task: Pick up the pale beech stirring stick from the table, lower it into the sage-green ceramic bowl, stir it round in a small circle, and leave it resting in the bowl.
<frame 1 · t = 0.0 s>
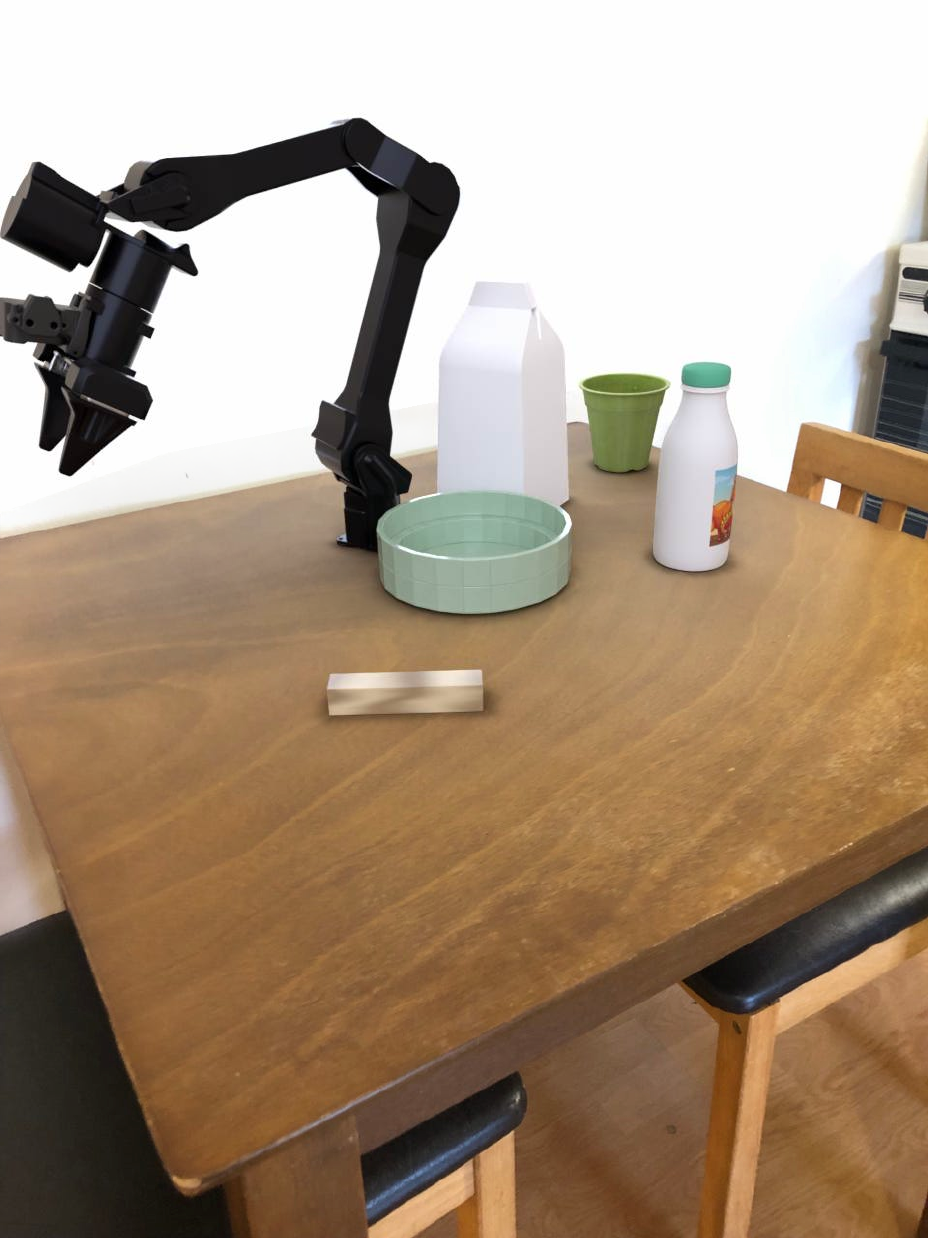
hand: (53, 461, 84), 15 cm above the table, tool tilted 35°, fingers open, 9 cm apart
stick: (407, 705, 74), on the table
bowl: (475, 576, 95), on the table
plant pot: (619, 466, 127), on the table
milk bottle: (689, 560, 98), on the table
milk: (503, 507, 114), on the table
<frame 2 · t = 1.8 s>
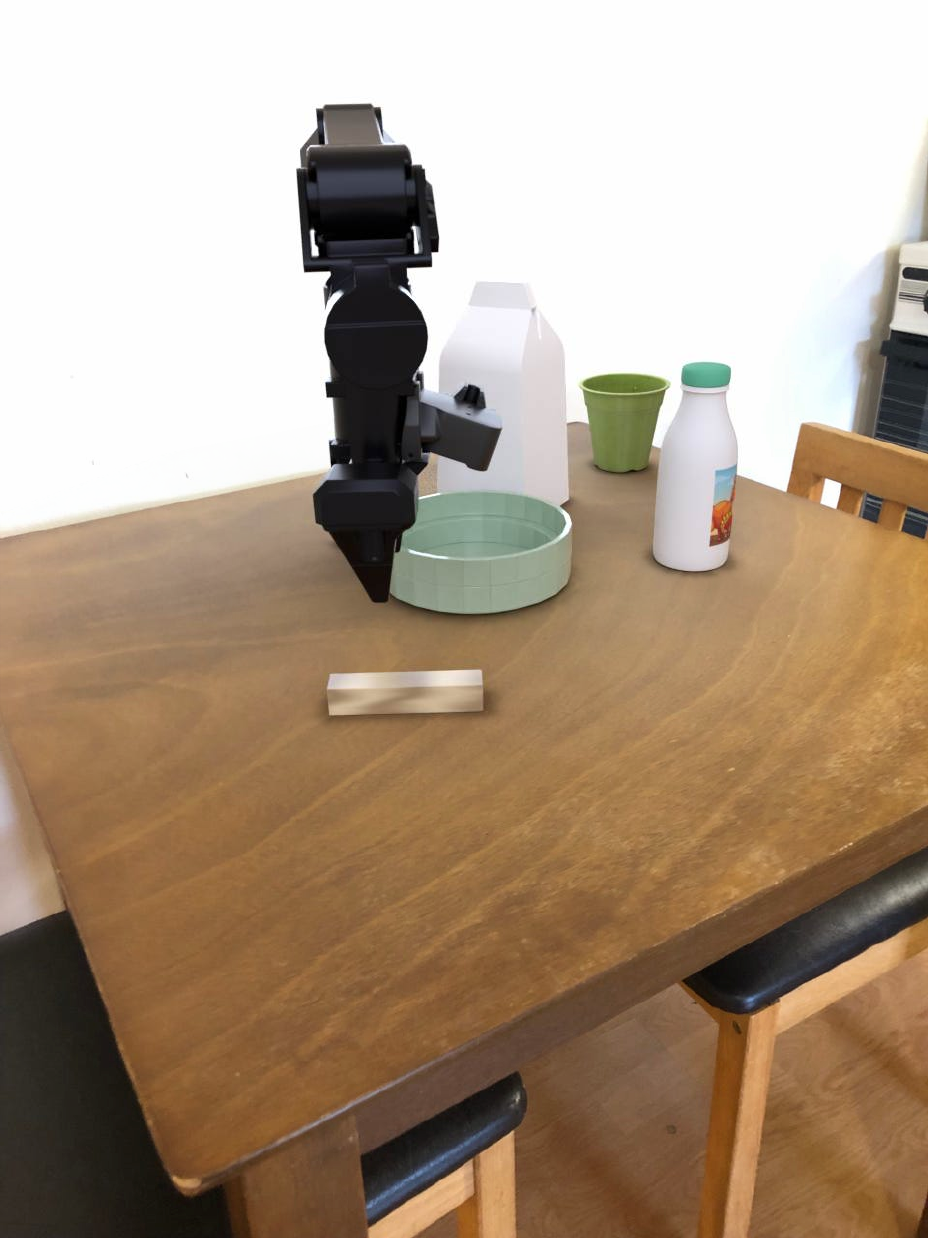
hand: (387, 575, 68), 11 cm above the table, tool pointing down, fingers open, 9 cm apart
nothing on the table moved.
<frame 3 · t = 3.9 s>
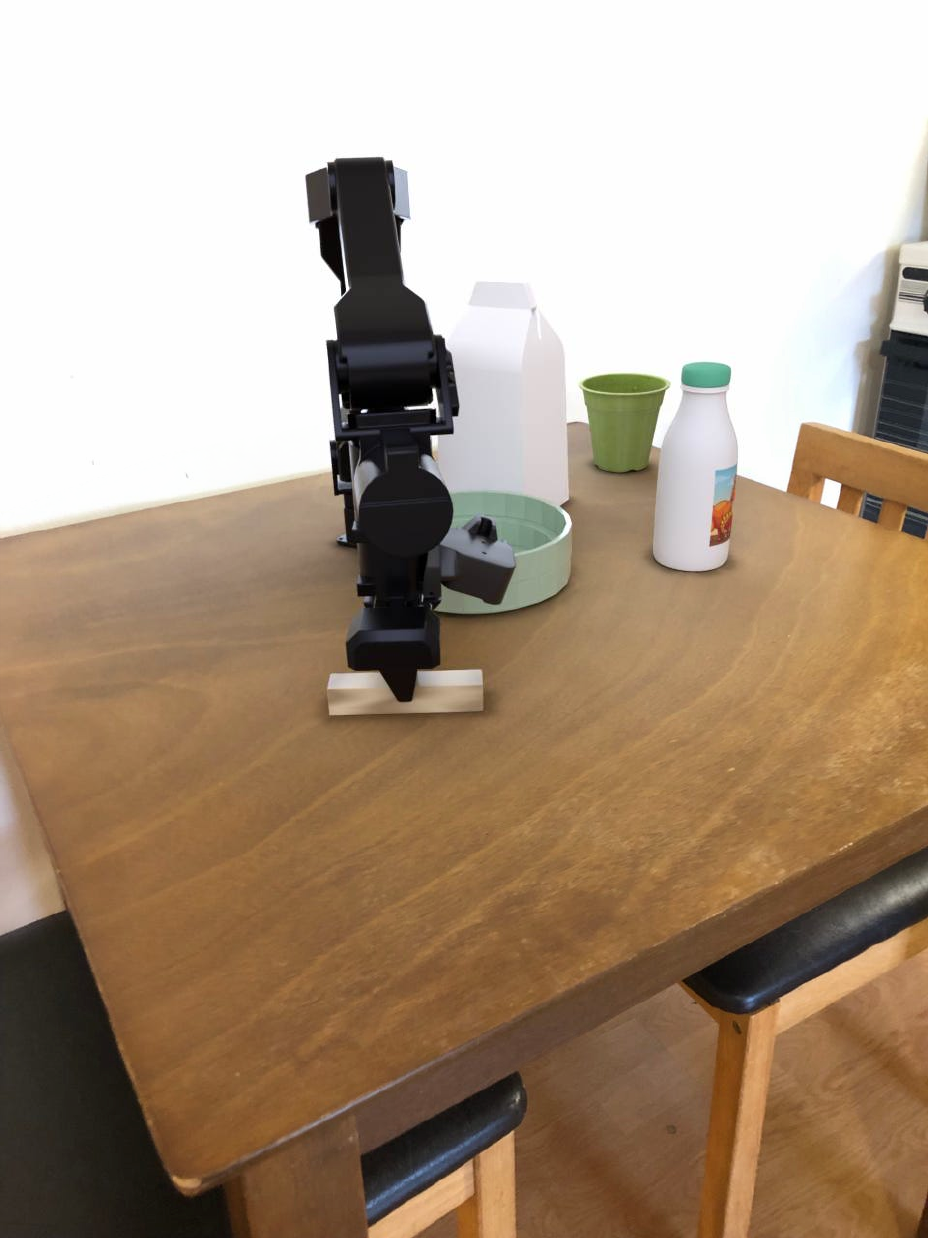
hand: (406, 692, 73), 1 cm above the table, tool pointing down, fingers closed on stick, 2 cm apart
stick: (407, 705, 74), on the table, touching gripper
everything else where it was.
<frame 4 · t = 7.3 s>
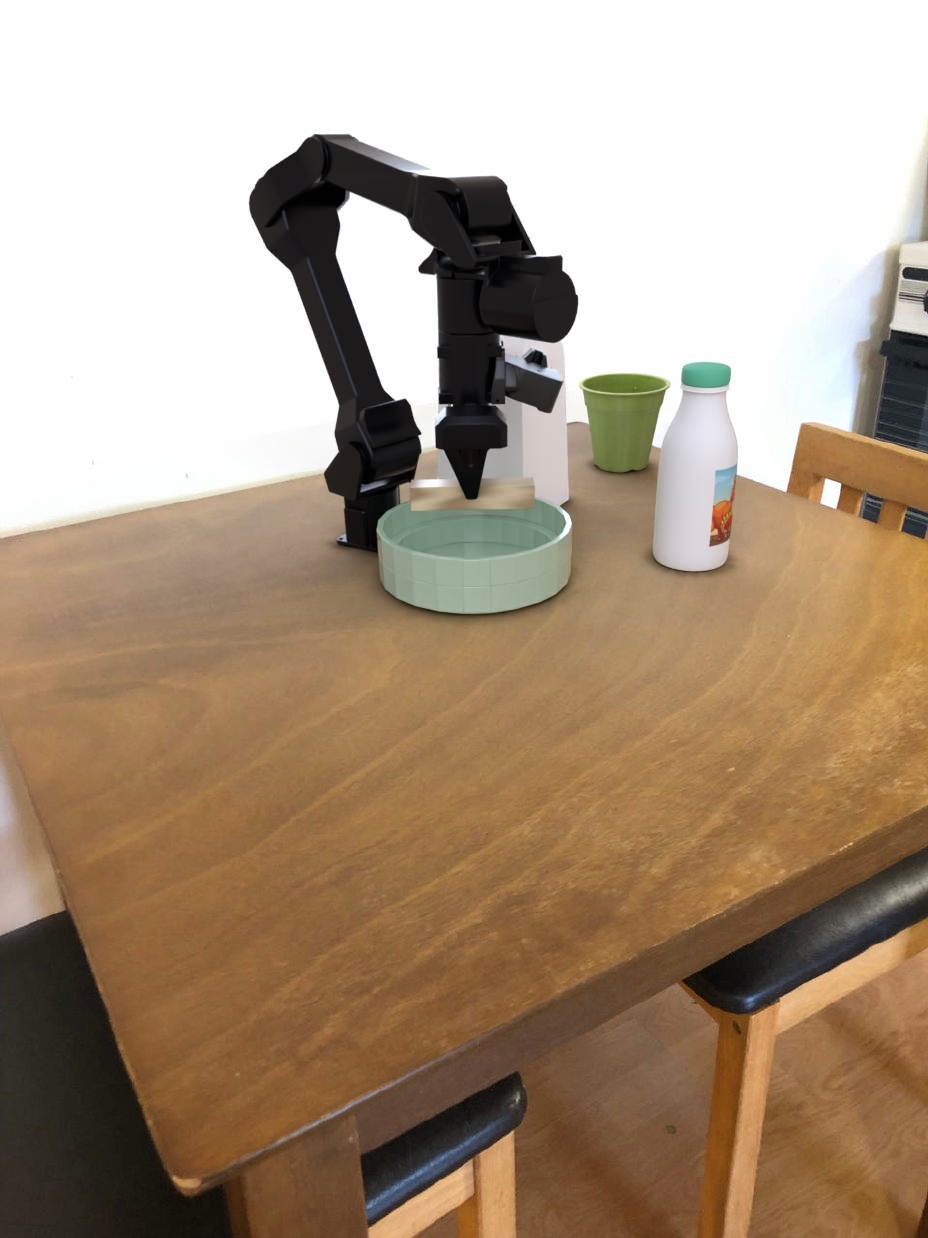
hand: (471, 494, 91), 9 cm above the table, tool pointing down, fingers closed on stick, 2 cm apart
stick: (472, 505, 92), point 8 cm above the table, touching gripper
everything else where it was.
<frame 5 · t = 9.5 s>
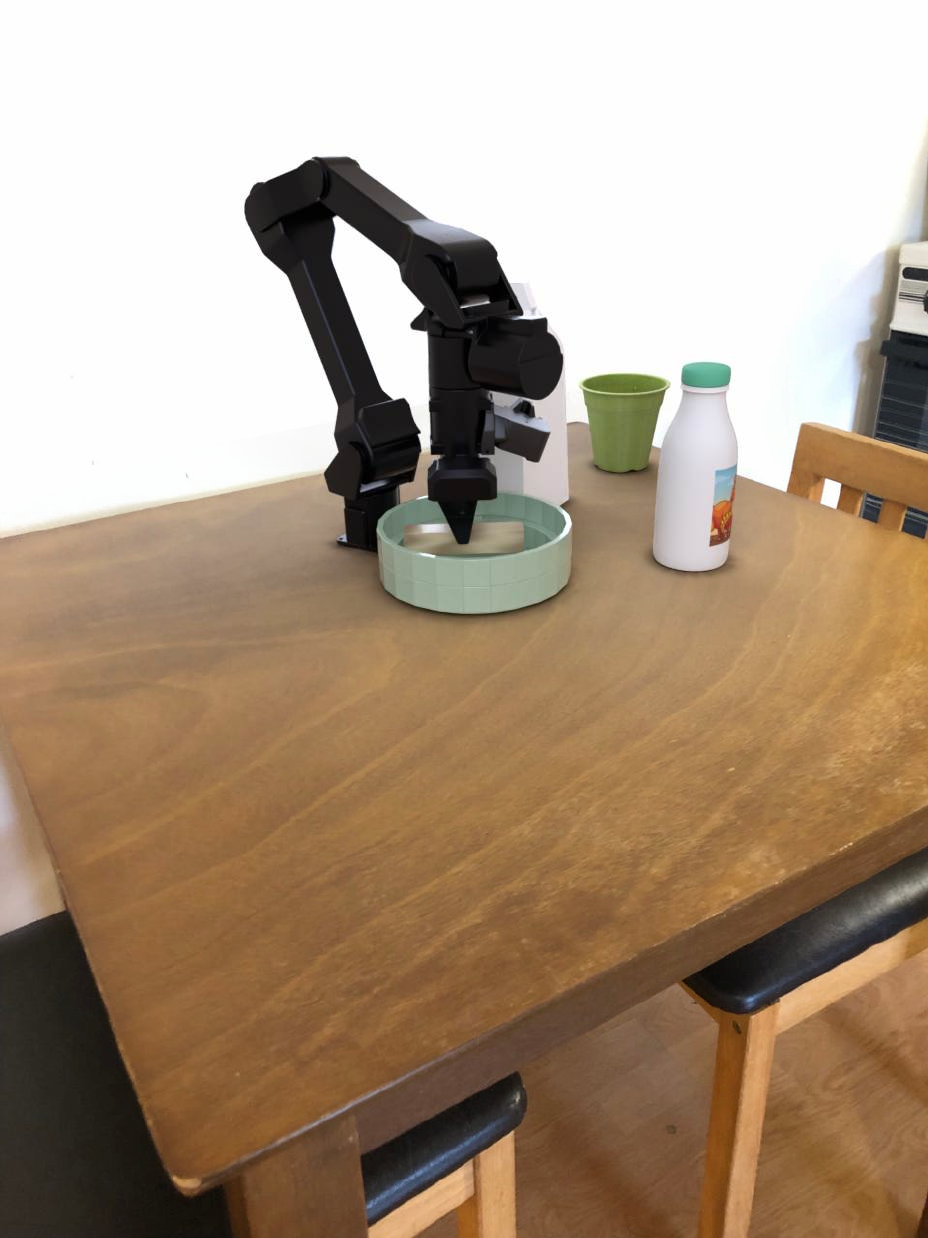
hand: (463, 538, 94), 4 cm above the table, tool pointing down, fingers closed on stick, 2 cm apart
stick: (464, 549, 95), point 3 cm above the table, touching gripper
everything else where it was.
when the fingers open (2 cm above the table, at t = 10.7 s): stick stays where it is, resting on bowl.
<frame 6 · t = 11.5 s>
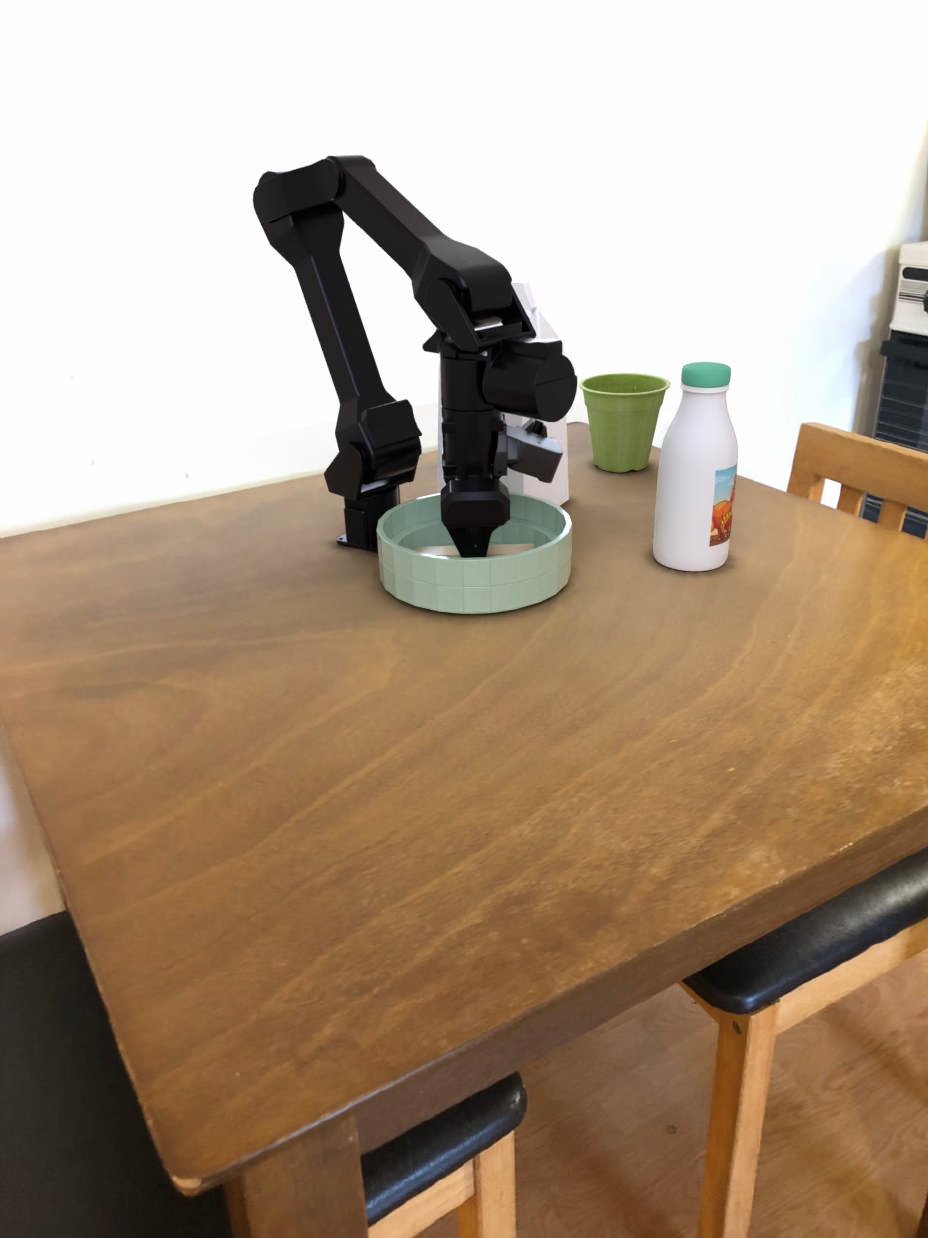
hand: (475, 558, 94), 2 cm above the table, tool pointing down, fingers open, 9 cm apart
stick: (475, 571, 95), point 1 cm above the table, touching bowl
everything else where it was.
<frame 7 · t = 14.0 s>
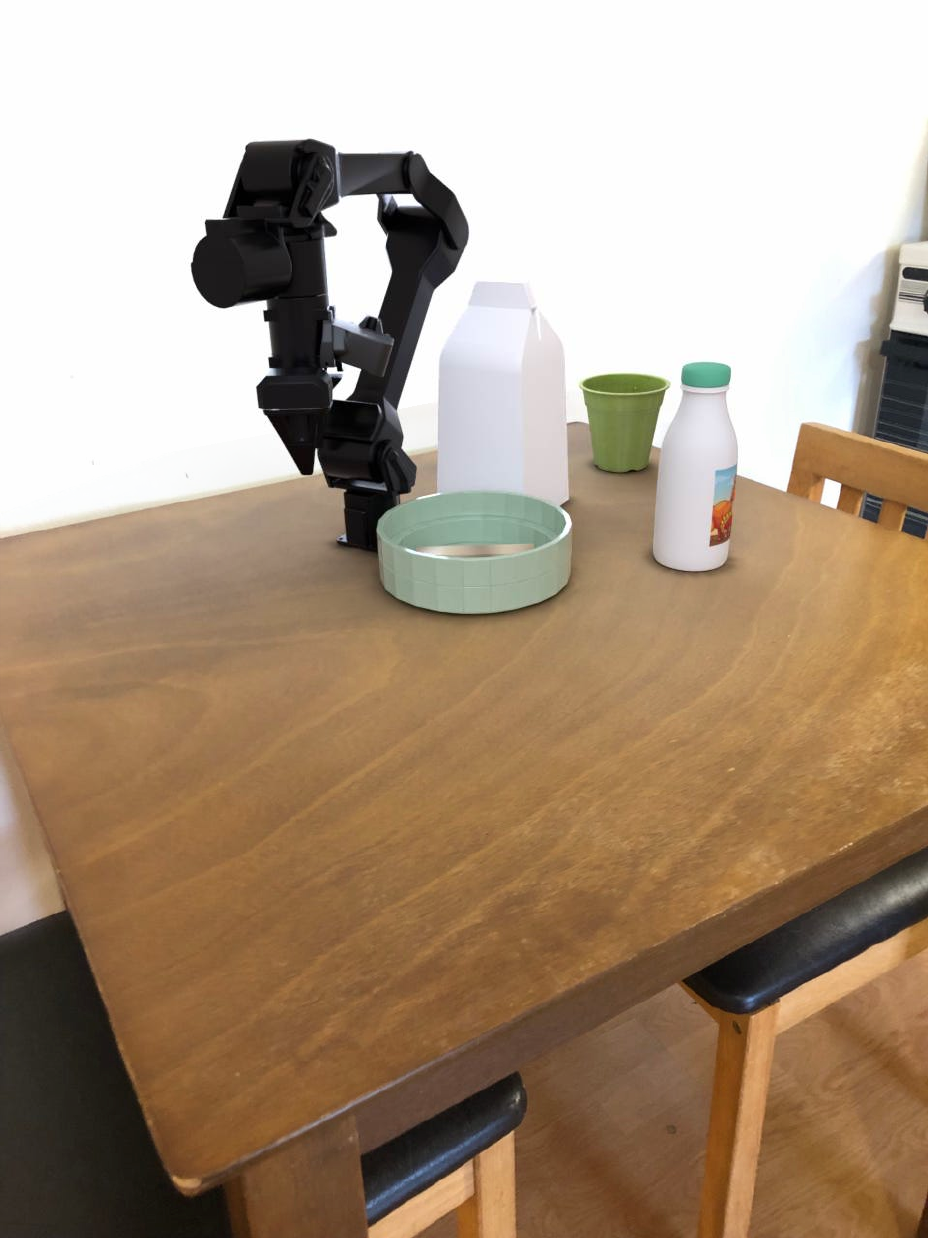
hand: (312, 460, 92), 12 cm above the table, tool pointing down, fingers open, 9 cm apart
nothing on the table moved.
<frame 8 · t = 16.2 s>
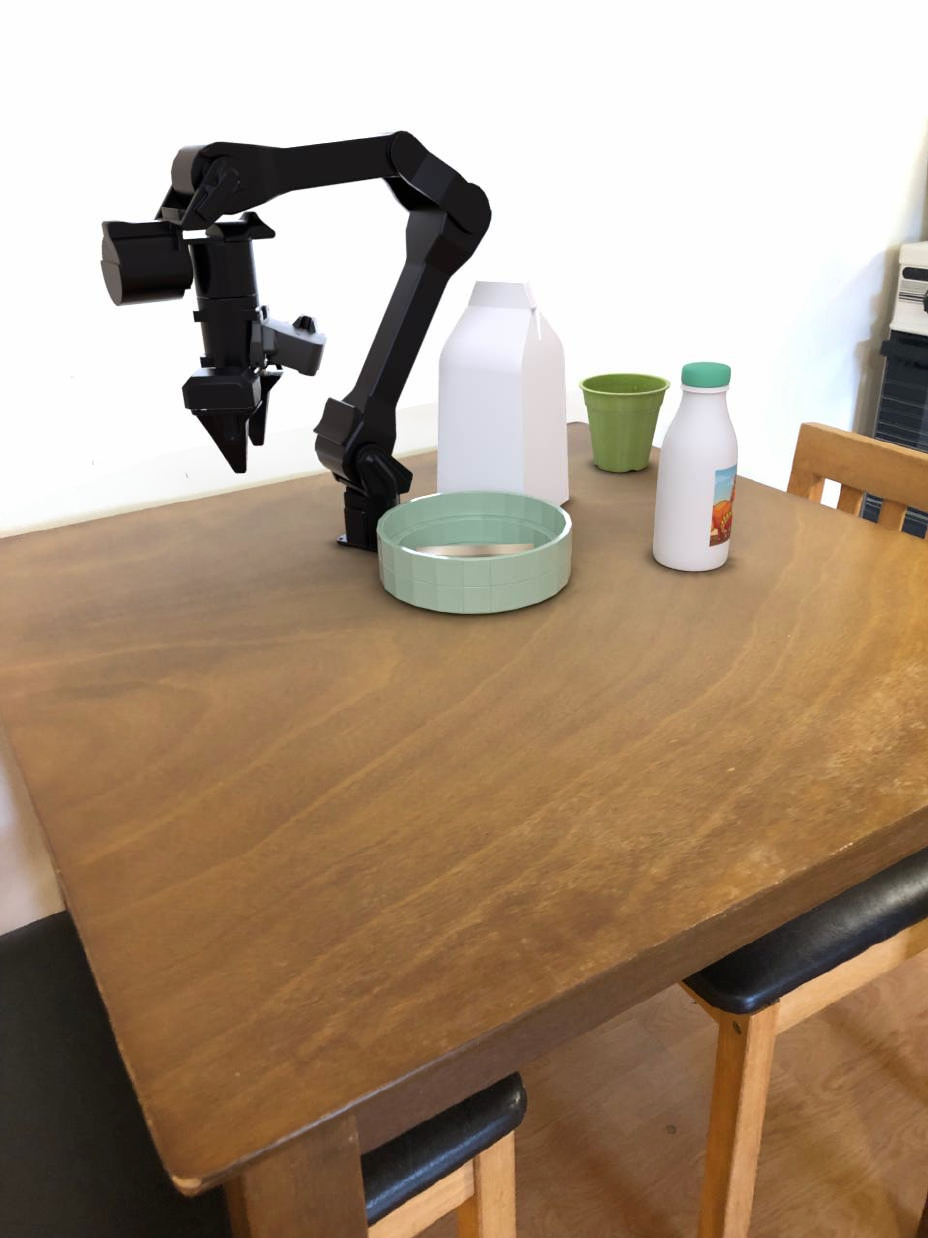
hand: (250, 458, 93), 12 cm above the table, tool pointing down, fingers open, 9 cm apart
nothing on the table moved.
at the end: stick inside the target area in the bowl (0.1 cm from its centre), point 0.6 cm above the bowl's base; stick moved 25.1 cm from its start; the gripper is holding nothing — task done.
